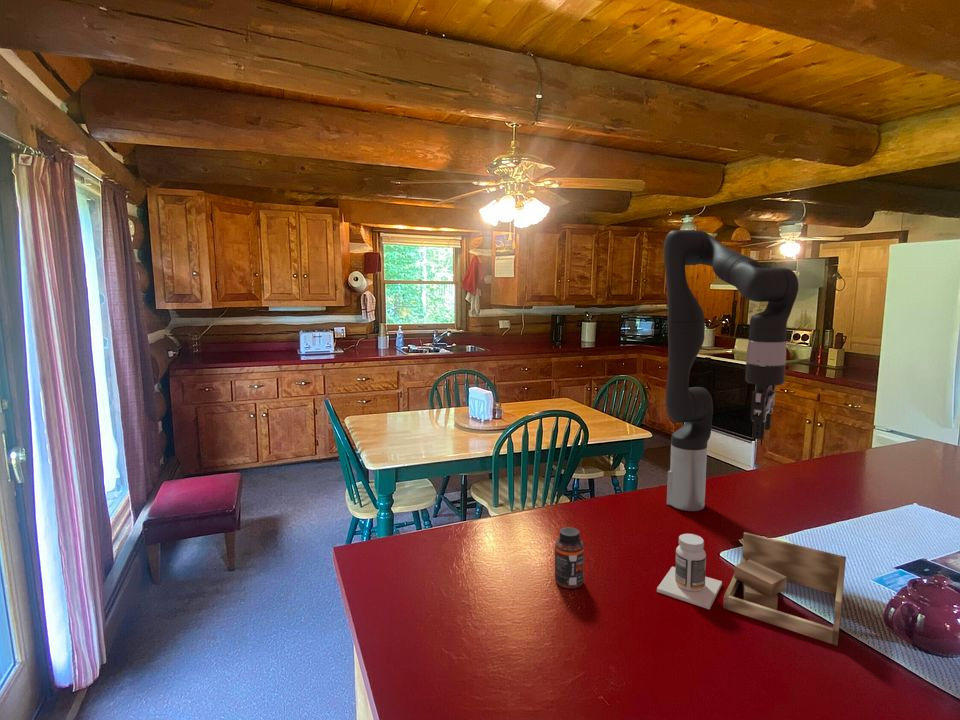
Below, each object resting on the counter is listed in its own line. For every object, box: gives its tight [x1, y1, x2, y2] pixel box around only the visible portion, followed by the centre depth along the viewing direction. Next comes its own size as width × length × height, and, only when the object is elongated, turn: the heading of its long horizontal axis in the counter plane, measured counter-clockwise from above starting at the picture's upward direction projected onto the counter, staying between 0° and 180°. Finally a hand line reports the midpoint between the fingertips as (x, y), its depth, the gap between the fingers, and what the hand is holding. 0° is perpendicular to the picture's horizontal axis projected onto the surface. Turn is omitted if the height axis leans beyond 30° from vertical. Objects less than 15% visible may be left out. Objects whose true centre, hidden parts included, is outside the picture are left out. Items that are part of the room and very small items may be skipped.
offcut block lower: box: [740, 581, 779, 611], centre depth 103 cm, size 6×9×3 cm, turn 157°
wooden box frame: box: [722, 531, 847, 646], centre depth 100 cm, size 18×18×8 cm
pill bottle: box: [675, 533, 707, 591], centre depth 105 cm, size 6×6×10 cm
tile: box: [656, 566, 723, 610], centre depth 106 cm, size 10×10×1 cm
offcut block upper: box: [733, 559, 787, 596], centre depth 102 cm, size 5×8×2 cm, turn 29°
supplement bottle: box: [554, 526, 585, 590], centre depth 108 cm, size 6×6×11 cm
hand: (761, 433), depth 115 cm, fingers open, 8 cm apart
